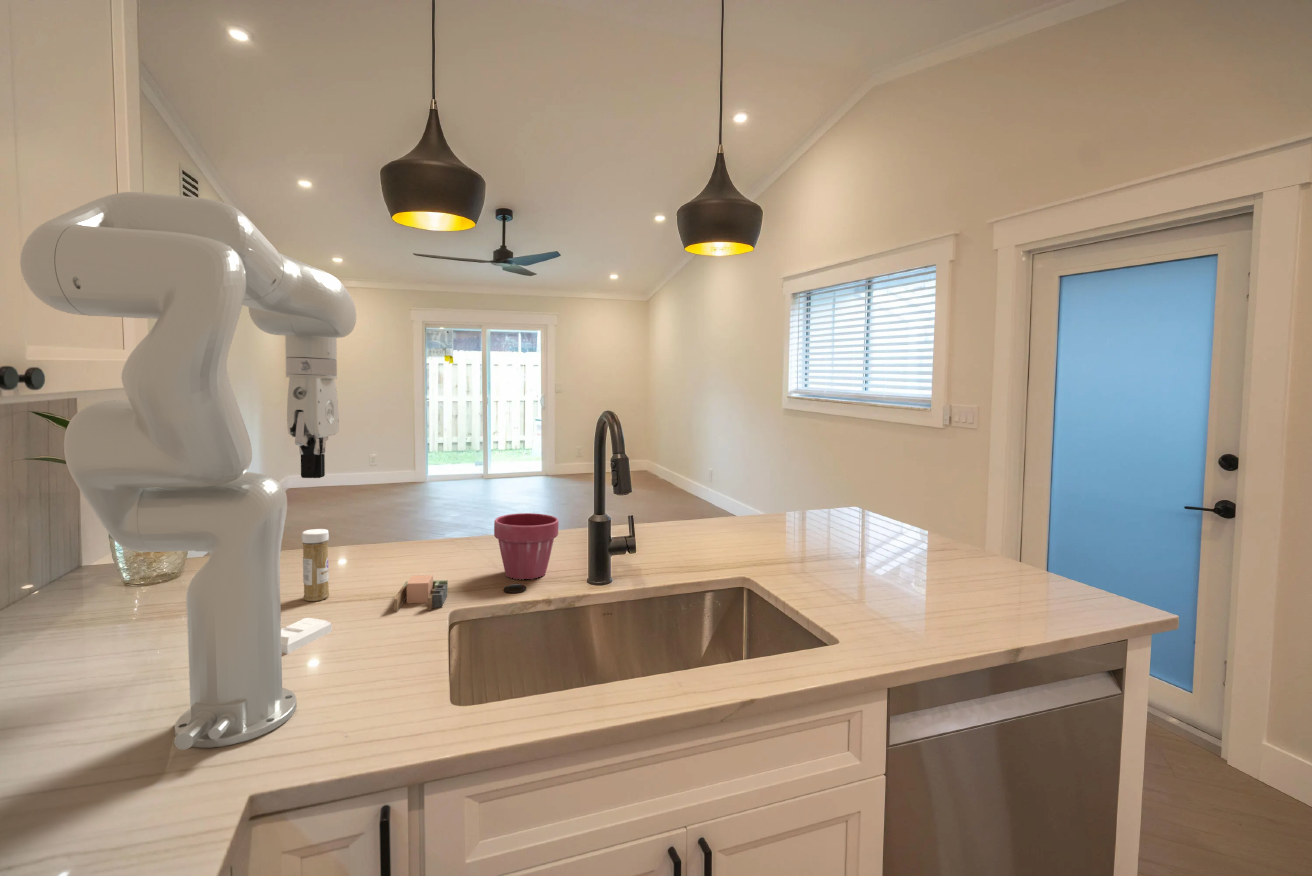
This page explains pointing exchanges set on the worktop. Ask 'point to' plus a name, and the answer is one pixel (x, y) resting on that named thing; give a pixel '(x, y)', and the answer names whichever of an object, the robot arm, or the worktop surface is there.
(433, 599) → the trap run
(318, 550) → the sprinkles bottle
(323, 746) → the worktop surface
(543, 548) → the plant pot
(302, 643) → the white flat block
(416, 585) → the block
